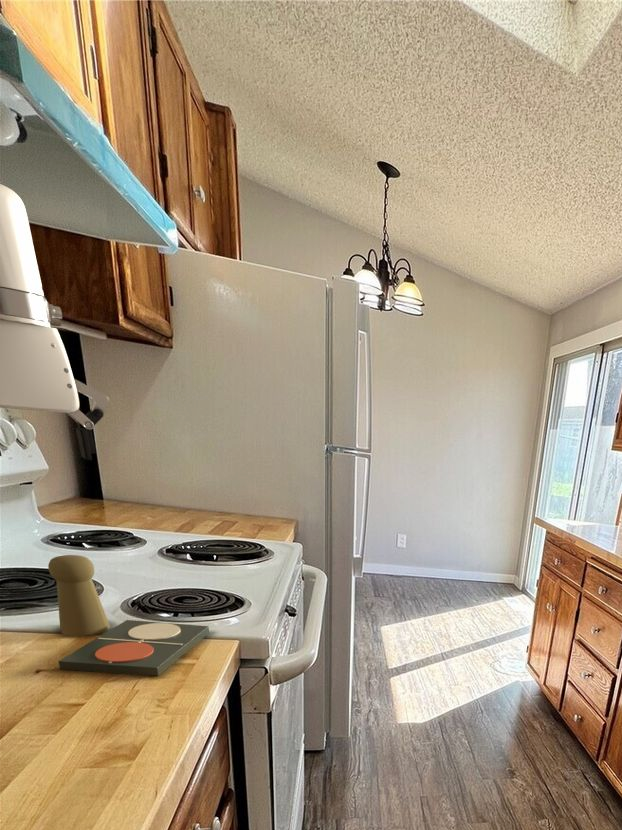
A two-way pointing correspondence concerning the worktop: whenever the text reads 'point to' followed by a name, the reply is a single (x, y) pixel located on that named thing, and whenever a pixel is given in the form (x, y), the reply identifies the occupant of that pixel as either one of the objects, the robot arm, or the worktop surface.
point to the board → (136, 648)
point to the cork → (77, 596)
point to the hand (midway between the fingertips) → (43, 457)
